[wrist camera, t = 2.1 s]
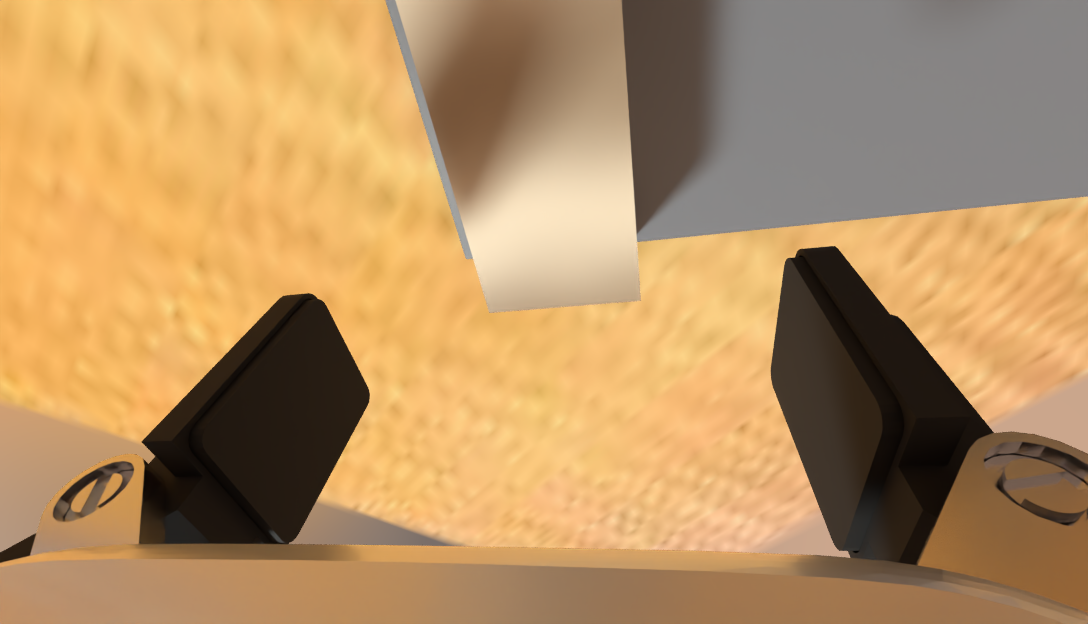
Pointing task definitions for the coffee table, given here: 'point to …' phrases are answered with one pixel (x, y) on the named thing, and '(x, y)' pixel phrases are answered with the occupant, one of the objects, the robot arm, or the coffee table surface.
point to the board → (841, 109)
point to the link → (534, 143)
